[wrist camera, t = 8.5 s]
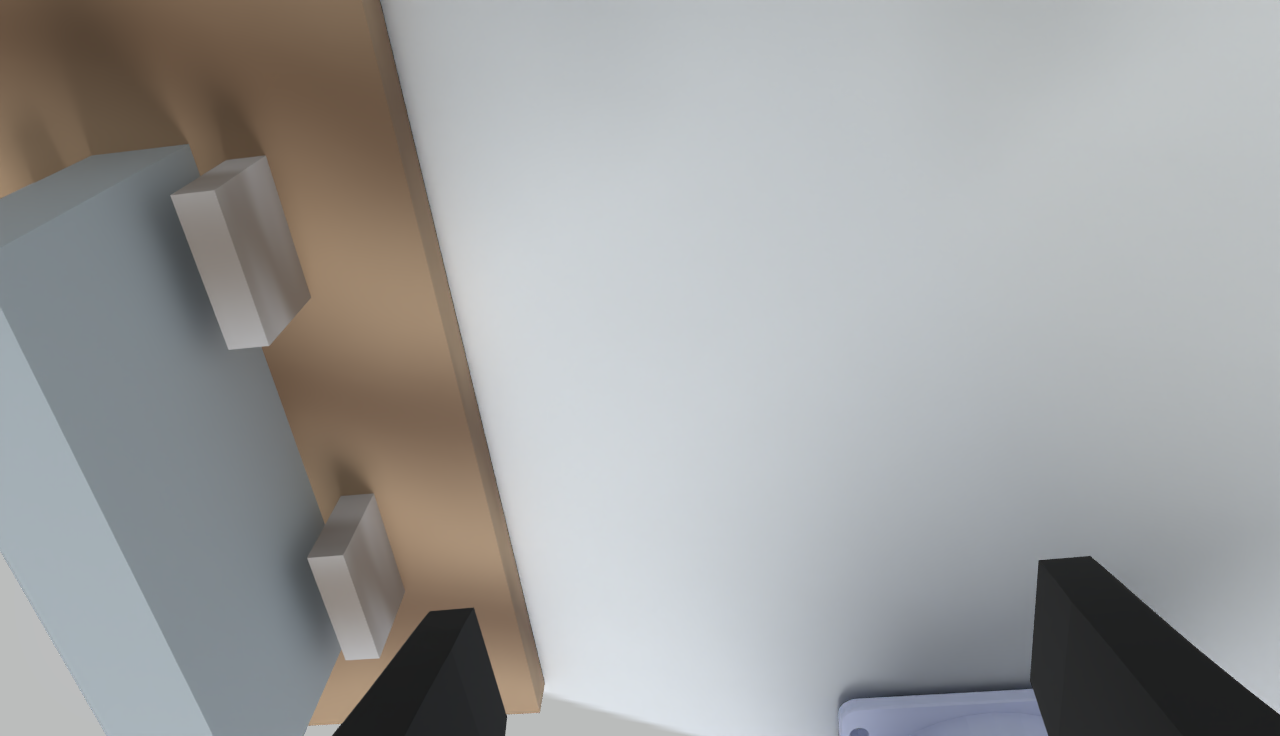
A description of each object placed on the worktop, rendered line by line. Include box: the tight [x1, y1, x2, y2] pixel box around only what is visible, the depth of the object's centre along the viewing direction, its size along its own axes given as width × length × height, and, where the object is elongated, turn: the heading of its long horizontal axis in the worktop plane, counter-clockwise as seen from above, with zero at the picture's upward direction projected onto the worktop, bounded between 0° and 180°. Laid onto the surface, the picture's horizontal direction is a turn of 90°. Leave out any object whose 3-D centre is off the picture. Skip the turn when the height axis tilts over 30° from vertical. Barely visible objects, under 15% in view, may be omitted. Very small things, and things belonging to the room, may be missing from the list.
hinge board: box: [0, 0, 545, 726], centre depth 20 cm, size 20×10×3 cm, turn 7°
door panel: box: [0, 144, 341, 736], centre depth 18 cm, size 12×2×6 cm, turn 7°
